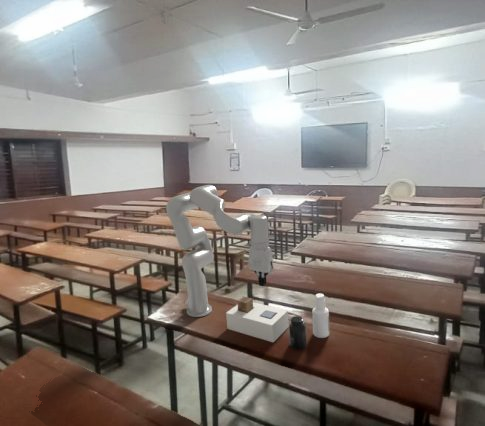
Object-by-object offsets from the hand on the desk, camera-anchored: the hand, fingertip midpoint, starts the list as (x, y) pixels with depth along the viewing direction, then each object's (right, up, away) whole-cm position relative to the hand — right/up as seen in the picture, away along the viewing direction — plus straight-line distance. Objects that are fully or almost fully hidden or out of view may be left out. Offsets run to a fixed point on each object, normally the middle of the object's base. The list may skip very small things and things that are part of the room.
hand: (262, 284), depth 160 cm
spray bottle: (+25, -21, -2) cm, 33 cm away
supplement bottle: (+14, -23, -8) cm, 29 cm away
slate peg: (+3, -19, +3) cm, 20 cm away
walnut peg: (-7, -15, +9) cm, 19 cm away
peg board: (-2, -21, +7) cm, 22 cm away
